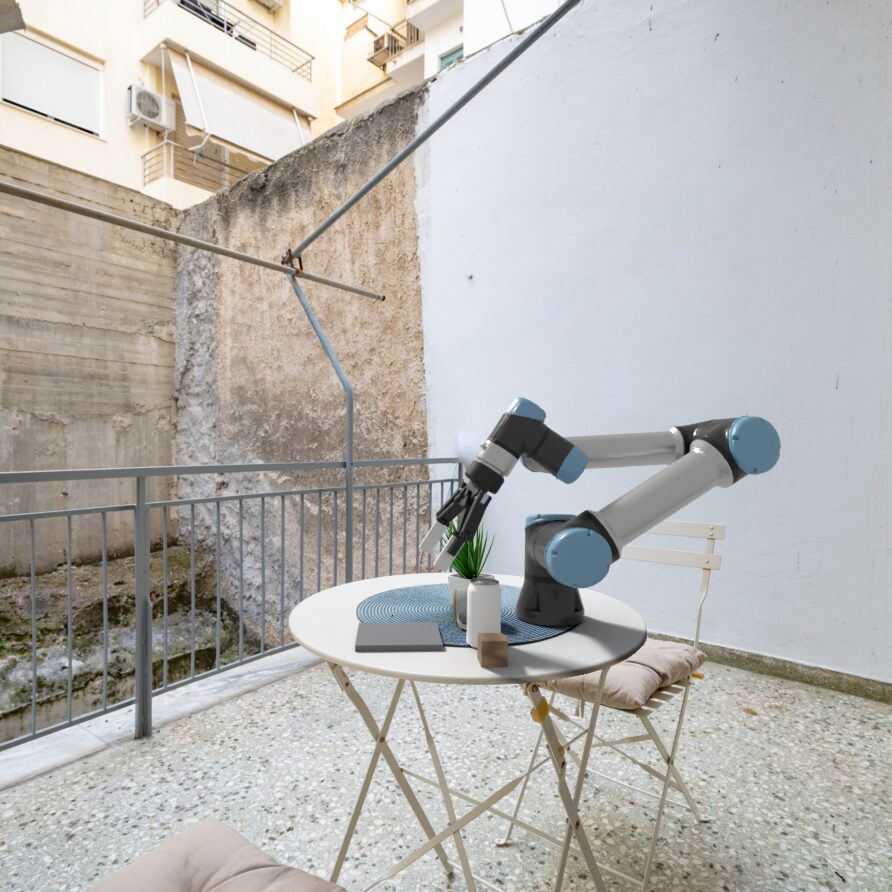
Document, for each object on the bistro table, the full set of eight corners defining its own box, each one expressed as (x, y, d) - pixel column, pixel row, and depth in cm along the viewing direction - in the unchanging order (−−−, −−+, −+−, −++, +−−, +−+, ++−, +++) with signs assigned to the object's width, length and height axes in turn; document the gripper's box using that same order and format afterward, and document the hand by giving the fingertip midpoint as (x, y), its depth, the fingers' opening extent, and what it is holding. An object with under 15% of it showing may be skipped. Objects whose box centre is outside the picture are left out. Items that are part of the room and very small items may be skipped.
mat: (436, 627, 121) (436, 622, 121) (442, 650, 107) (443, 644, 107) (358, 627, 120) (358, 622, 120) (354, 651, 106) (355, 645, 106)
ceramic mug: (454, 616, 129) (454, 582, 129) (491, 618, 129) (491, 583, 129) (450, 632, 119) (451, 594, 119) (490, 634, 118) (491, 596, 118)
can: (490, 637, 115) (492, 576, 115) (506, 647, 109) (507, 583, 109) (460, 640, 113) (462, 578, 113) (475, 651, 107) (476, 585, 107)
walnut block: (502, 658, 104) (502, 632, 104) (507, 667, 100) (508, 641, 100) (477, 658, 104) (477, 633, 104) (481, 667, 99) (481, 641, 99)
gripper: (458, 453, 127) (404, 535, 126) (495, 464, 103) (429, 566, 101) (485, 471, 129) (433, 552, 127) (528, 487, 105) (463, 588, 103)
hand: (431, 559), depth 114 cm, fingers open, 13 cm apart
